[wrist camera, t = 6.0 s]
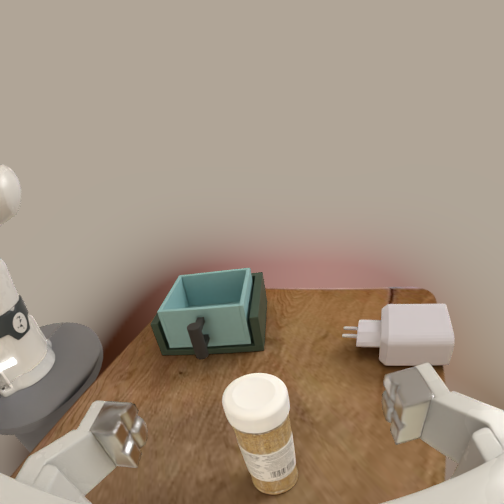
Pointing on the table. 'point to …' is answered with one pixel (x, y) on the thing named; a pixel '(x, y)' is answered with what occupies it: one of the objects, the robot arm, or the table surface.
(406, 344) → the charger
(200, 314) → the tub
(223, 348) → the dark green bin
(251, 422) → the sprinkles bottle
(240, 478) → the table surface
